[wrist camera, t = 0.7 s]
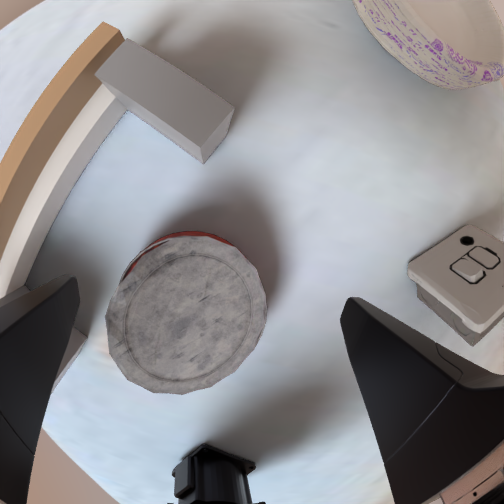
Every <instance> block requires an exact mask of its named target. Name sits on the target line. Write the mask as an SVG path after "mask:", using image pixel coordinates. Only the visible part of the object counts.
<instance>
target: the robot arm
mask: <svg viewBox="0 0 504 504" xmlns="http://www.w3.org/2000/svg"><path fill="white" fill-rule="evenodd" d="M79 303H80V297H79V291H78V285H77V280H76V277H75V276H71V275H63V276H60V277H58V278H56V279H54V280H52V281H50V282H48V283H46V284H44V285H42V286H40V287H38V288H36V289H34V290H32V291H30V292H28V293H26V294H24V295H22V296H20V297H18V298H16V299H15V300H13V301H11V302H9V303H7V304H5V305H3V306H1V307H0V504H26V503H27V496H28V489H29V483H30V476H31V472H32V466H33V461H34V455H35V451H36V447H37V442H38V438H39V434H40V430H41V426H42V422H43V419H44V415H45V412H46V408H47V405H48V401H49V398H50V395H51V392H52V388H53V385H54V382H55V379H56V376H57V373H58V370H59V368H60V365H61V362H62V359H63V356H64V354H65V351H66V348H67V345H68V343H69V339H70V336H71V332H72V328H73V325H74V321H75V317H76V314H77V311H78V307H79ZM340 323H341V327H342V331H343V335H344V339H345V344H346V348H347V352H348V356H349V359H350V362H351V365H352V368H353V371H354V374H355V376H356V379H357V382H358V385H359V388H360V391H361V394H362V397H363V400H364V403H365V406H366V409H367V412H368V415H369V418H370V421H371V424H372V427H373V430H374V433H375V436H376V440H377V443H378V446H379V449H380V453H381V456H382V459H383V462H384V466H385V470H386V473H387V477H388V480H389V484H390V487H391V491H392V495H393V498H394V502H395V504H429V503H431V502H433V501H435V500H437V499H439V498H441V500H442V502H443V504H504V375H499V374H495V373H492V372H490V371H488V370H486V369H484V368H482V367H480V366H478V365H476V364H474V363H472V362H470V361H468V360H467V359H465V358H463V357H461V356H459V355H457V354H455V353H454V352H452V351H450V350H448V349H447V348H445V347H443V346H442V345H440V344H438V343H435V341H433V340H431V339H430V338H428V337H426V336H425V335H423V334H421V333H420V332H418V331H416V330H415V329H413V328H411V327H409V326H408V325H406V324H404V323H403V322H401V321H399V320H398V319H396V318H394V317H392V316H391V315H389V314H387V313H386V312H384V311H382V310H381V309H379V308H377V307H375V306H374V305H372V304H370V303H369V302H367V301H365V300H363V299H362V298H359V297H350V298H348V299H347V301H346V304H345V306H344V309H343V312H342V314H341V318H340ZM255 468H256V464H255V463H253V462H250V461H247V460H245V459H242V458H239V457H236V456H234V455H231V454H228V453H226V452H223V451H221V450H218V449H216V448H213V447H211V446H209V445H201V446H200V447H199V448H198V449H197V450H196V451H195V452H193V453H192V454H191V455H190V456H188V457H186V458H185V459H184V460H183V461H182V462H181V463H180V464H179V465H177V466H176V469H174V470H173V471H172V476H173V477H175V489H174V495H175V497H176V498H179V502H178V504H252V499H251V494H250V489H249V484H248V479H247V475H248V474H249V473H251V472H252V471H253V470H254V469H255ZM167 504H174V503H167ZM254 504H266V503H265V502H259V503H254Z"/></svg>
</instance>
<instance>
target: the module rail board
mask: <svg viewBox="0 0 504 504" xmlns="http://www.w3.org/2000/svg"><path fill="white" fill-rule="evenodd" d="M234 109H235V107H234V106H233V105H231V104H230V103H228V102H227V101H226V100H224V99H223V98H221V97H220V96H219V95H217V94H216V93H214V92H213V91H211V90H210V89H208V88H207V87H206V86H204V85H203V84H201V83H200V82H198V81H197V80H195V79H194V78H192V77H191V76H189V75H188V74H186V73H184V72H183V71H181V70H180V69H178V68H177V67H175V66H174V65H172V64H170V63H169V62H167V61H166V60H164V59H162V58H161V57H159V56H157V55H156V54H154V53H152V52H151V51H149V50H147V49H146V48H144V47H142V46H140V45H139V44H137V43H135V42H133V41H132V40H130V39H128V38H127V39H126V40H125V39H124V38H123V36H122V34H121V32H120V30H119V29H117V28H115V27H113V26H111V25H109V24H107V23H105V22H102V23H101V24H100V25H99V26H98V27H97V28H96V29H95V30H94V31H93V32H92V33H91V34H90V35H89V36H88V37H87V39H86V40H85V41H84V42H83V43H82V44H81V45H80V46H79V47H78V49H77V50H76V51H75V52H74V53H73V54H72V55H71V57H70V58H69V59H68V60H67V61H66V63H65V64H64V65H63V66H62V68H61V69H60V70H59V71H58V73H57V74H56V75H55V77H54V78H53V79H52V81H51V82H50V83H49V85H48V86H47V87H46V89H45V90H44V91H43V93H42V94H41V96H40V97H39V99H38V100H37V102H36V103H35V105H34V106H33V108H32V109H31V111H30V112H29V114H28V115H27V117H26V118H25V120H24V122H23V123H22V125H21V127H20V128H19V130H18V132H17V133H16V135H15V137H14V139H13V140H12V142H11V144H10V146H9V148H8V150H7V151H6V153H5V155H4V157H3V159H2V161H1V163H0V307H1V306H3V305H5V304H7V303H9V302H11V301H13V300H15V299H16V298H18V297H20V296H22V295H24V294H26V293H28V292H30V290H29V289H28V288H27V287H26V286H25V285H24V284H25V282H26V279H27V277H28V275H29V272H30V270H31V268H32V265H33V263H34V261H35V259H36V256H37V254H38V252H39V250H40V248H41V246H42V244H43V242H44V240H45V238H46V236H47V234H48V232H49V230H50V228H51V226H52V224H53V222H54V220H55V218H56V216H57V214H58V213H59V211H60V209H61V207H62V205H63V204H64V202H65V200H66V198H67V197H68V195H69V193H70V192H71V190H72V188H73V187H74V185H75V183H76V182H77V180H78V178H79V177H80V175H81V174H82V172H83V171H84V169H85V167H86V166H87V164H88V163H89V161H90V160H91V158H92V157H93V155H94V154H95V152H96V151H97V150H98V148H99V147H100V145H101V144H102V142H103V141H104V140H105V138H106V137H107V135H108V134H109V133H110V131H111V130H112V129H113V127H114V126H115V125H116V123H117V122H118V121H119V120H120V118H121V117H122V116H123V114H124V113H125V112H126V111H127V110H129V111H130V112H131V113H133V114H134V115H136V116H137V117H139V118H140V119H141V120H143V121H144V122H146V123H147V124H149V125H150V126H151V127H153V128H154V129H156V130H157V131H158V132H160V133H161V134H163V135H164V136H165V137H167V138H168V139H169V140H171V141H172V142H174V143H175V144H176V145H178V146H179V147H180V148H182V149H183V150H185V151H186V152H187V153H189V154H190V155H191V156H193V157H194V158H195V159H197V160H198V161H199V162H201V163H202V164H204V163H205V162H206V160H207V159H208V158H209V157H210V155H211V154H212V153H213V152H214V150H215V149H216V148H217V147H218V145H219V144H220V143H221V142H222V141H223V139H224V138H225V137H226V135H227V132H228V128H229V125H230V122H231V118H232V115H233V112H234ZM87 338H88V337H86V336H85V335H84V334H82V333H81V332H80V331H78V330H77V329H76V328H74V327H73V328H72V332H71V336H70V339H69V343H68V345H67V348H66V351H65V354H64V356H63V359H62V362H61V365H60V368H59V370H58V373H57V376H56V379H55V382H54V385H53V388H52V392H53V391H54V389H55V388H56V386H57V385H58V383H59V382H60V380H61V379H62V378H63V376H64V375H65V373H66V372H67V370H68V369H69V368H70V366H71V365H72V363H73V362H74V361H75V359H76V358H77V356H78V354H79V352H80V350H81V349H82V347H83V345H84V343H85V341H86V339H87ZM52 392H51V394H52Z"/></svg>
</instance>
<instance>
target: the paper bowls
mask: <svg viewBox="0 0 504 504" xmlns="http://www.w3.org/2000/svg"><path fill="white" fill-rule="evenodd" d="M352 1H353V3H354V6H355V8H356V10H357V12H358V14H359V16H360V18H361V19H362V21H363V22H364V24H365V26H366V27H367V28H368V30H369V31H370V33H371V34H372V35H373V36H374V37H375V38H376V39H377V40H378V41H379V43H380V44H381V45H382V46H383V47H384V49H386V50H387V51H388V52H389V53H390V54H391V55H392V56H394V57H395V58H396V59H397V60H398V61H399V62H400V63H402V64H403V65H404V66H405V67H406V68H407V69H409V70H411V71H412V72H413V73H414V74H417V75H418V76H419V77H420V78H422V79H424V80H426V81H427V82H430V83H431V84H433V85H436V86H438V87H441V88H444V89H449V90H460V89H466V88H471V87H475V86H478V85H482V84H486V83H489V82H493V81H497V80H499V79H500V78H502V77H503V76H504V27H503V25H502V22H501V20H500V18H499V16H498V14H497V12H496V10H495V8H494V7H493V5H492V3H491V2H490V1H489V0H352Z"/></svg>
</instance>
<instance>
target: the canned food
mask: <svg viewBox="0 0 504 504" xmlns="http://www.w3.org/2000/svg"><path fill="white" fill-rule="evenodd" d="M266 317H267V302H266V294H265V291H264V288H263V285H262V282H261V280H260V278H259V275H258V272H257V269H256V268H255V267H254V266H253V265H252V264H251V263H250V262H249V261H248V259H247V258H246V257H245V256H244V255H243V254H242V253H241V252H240V250H239V249H238V248H236V247H235V246H233V245H232V244H231V243H229V242H228V241H227V240H224V239H222V238H220V237H218V236H216V235H213V234H209V233H205V232H199V231H184V232H178V233H172V234H170V235H167V236H165V237H162V238H160V239H158V240H157V241H155V242H154V243H152V244H151V245H149V246H148V247H147V248H146V249H144V250H143V251H141V252H140V253H139V254H138V255H137V256H136V257H135V258H134V259H133V260H132V261H131V262H130V264H129V265H128V267H127V268H126V270H125V272H124V273H123V275H122V278H121V280H120V283H119V286H118V288H117V289H116V291H115V293H114V295H113V296H112V298H111V300H110V303H109V306H108V309H107V312H106V315H105V320H106V328H107V335H108V345H109V354H110V355H111V357H112V358H113V360H114V361H115V363H116V364H117V366H118V367H119V369H120V370H121V372H122V373H123V374H124V376H125V377H126V379H127V380H129V381H131V382H133V383H135V384H137V385H139V386H141V387H143V388H145V389H147V390H149V391H151V392H153V393H170V394H181V395H183V394H186V393H190V392H193V391H196V390H200V389H204V388H209V387H212V386H213V385H214V384H216V383H217V382H219V381H220V380H222V379H223V378H225V377H227V376H228V375H230V374H232V373H233V372H235V371H236V370H237V369H238V367H239V366H240V365H241V363H242V362H243V361H244V360H245V359H246V358H247V356H248V355H249V354H250V353H251V352H252V351H253V350H254V348H255V347H256V345H257V343H258V341H259V339H260V338H261V336H262V333H263V330H264V327H265V324H266Z"/></svg>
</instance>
